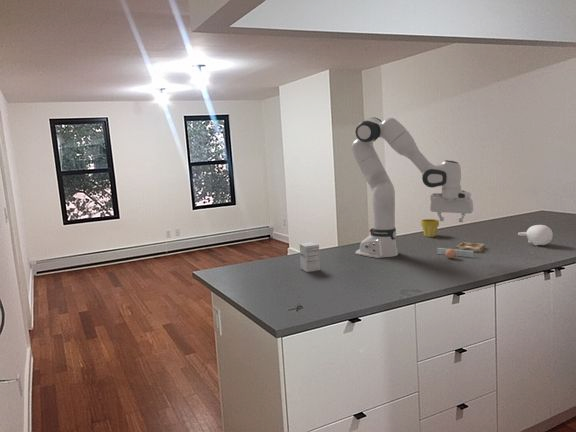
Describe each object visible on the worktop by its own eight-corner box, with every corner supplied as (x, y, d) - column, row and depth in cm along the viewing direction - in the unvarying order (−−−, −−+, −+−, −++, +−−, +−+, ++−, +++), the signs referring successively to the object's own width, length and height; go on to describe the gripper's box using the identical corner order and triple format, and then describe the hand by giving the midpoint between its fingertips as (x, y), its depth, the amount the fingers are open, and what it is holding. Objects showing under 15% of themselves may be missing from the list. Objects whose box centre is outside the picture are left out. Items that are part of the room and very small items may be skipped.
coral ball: (444, 259, 239) (444, 249, 238) (447, 256, 243) (447, 247, 242) (454, 260, 236) (454, 250, 235) (457, 258, 240) (457, 248, 239)
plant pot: (431, 233, 301) (431, 218, 300) (442, 236, 292) (442, 220, 290) (417, 235, 298) (417, 220, 296) (428, 238, 288) (428, 222, 287)
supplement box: (300, 268, 233) (299, 243, 231) (314, 266, 235) (313, 241, 233) (306, 272, 226) (305, 246, 224) (320, 270, 229) (319, 244, 227)
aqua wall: (437, 253, 250) (437, 248, 249) (437, 253, 251) (437, 247, 250) (472, 257, 239) (473, 251, 239) (473, 257, 240) (473, 251, 240)
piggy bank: (555, 249, 255) (529, 246, 268) (558, 227, 256) (532, 225, 269) (541, 245, 249) (515, 242, 262) (544, 223, 250) (518, 221, 263)
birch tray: (455, 250, 255) (455, 246, 255) (462, 245, 265) (462, 242, 265) (479, 252, 248) (479, 248, 248) (485, 247, 258) (485, 244, 258)
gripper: (428, 193, 238) (428, 221, 240) (470, 194, 226) (470, 223, 228) (432, 192, 243) (432, 219, 245) (474, 193, 231) (474, 221, 233)
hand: (451, 221), depth 236 cm, fingers open, 8 cm apart
